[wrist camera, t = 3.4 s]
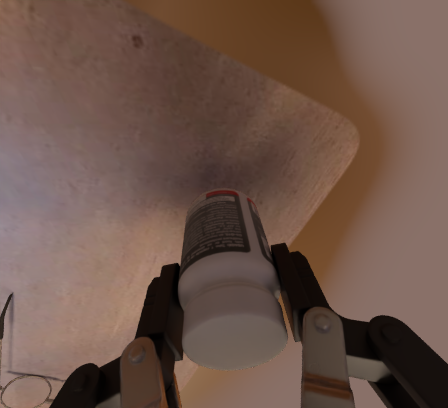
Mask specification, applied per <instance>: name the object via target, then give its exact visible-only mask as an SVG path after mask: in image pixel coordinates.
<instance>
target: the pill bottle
mask: <svg viewBox="0 0 448 408" xmlns="http://www.w3.org/2000/svg"><path fill="white" fill-rule="evenodd" d="M280 289H281V287H280V280H279V276H278V272H277V269H276V266H275V263H274V260H273V257H272V254H271V251H270V248H269V245H268V242H267V239H266V236H265V233H264V230H263V226H262V223H261V220H260V217H259V214H258V211H257V208H256V206H255V204H254V203H253V201H252V200H251V199H250V198H249V197H248V196H247V195H245V194H244V193H242V192H240V191H237V190H234V189H230V188H217V189H212V190H209V191H207V192H205V193H203V194H201V195H200V196H199V197H198V198H196V199H195V200H194V201H193V203H192V204H191V205H190V207H189V209H188V212H187V216H186V223H185V233H184V241H183V249H182V257H181V265H180V273H179V280H178V299H179V302H180V305H181V307H182V309H183V311H184V323H183V334H182V347H183V351H184V353H185V354H186V355H187V357H188V358H189V359H190V360H192V361H193V362H195V363H197V364H199V365H201V366H204V367H207V368H211V369H217V370H241V369H247V368H252V367H255V366H258V365H261V364H264V363H266V362H268V361H270V360H272V359H273V358H275V357H276V356H277V355H279V354H280V353H281V352H282V351H283V349H284V348H285V346H286V344H287V339H288V335H287V330H286V326H285V321H284V318H283V312H282V308H281V305H280V303H279V302H278V299H279V295H280Z"/></svg>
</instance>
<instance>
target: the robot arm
mask: <svg viewBox="0 0 448 408" xmlns="http://www.w3.org/2000/svg"><path fill="white" fill-rule="evenodd" d="M271 253H272V257H273V260H274V263H275V266H276V269H277V272H278V276H279V280H280V287H281V289H280V293H281V296H282V300H283V303H284V306H285V310H286V313H287V316H288V320H289V323H290V327H291V330H292V333H293V337H294V340H295V342H298V341H301V343H302V346H303V350H302V381H301V408H355V403H354V397H353V392H352V390H351V388H350V383H349V376H350V377H354V378H359V379H364V380H367V381H368V383H369V384H370V385H371V387H372V388H373V389H374V391H375V392H376V393H377V395H378V396H379V397H380V399H381V400H382V401H383V403H384V404H385V405H386V407H387V408H448V364H447V363H446V362H445V361H444V360H443V359H442V358H441V357H440V356H439V355H438V354H436V352H434V351H433V350H432V349H431V348H430V347H429V346H428V345H427V344H426V343H425V342H424V341H423V340H422V339H421V338H420V337H418V335H417V334H415V333H414V332H413V331H412V330H411V329H410V328H409V327H408V326H407V325H406V324H405V323H403V322H402V321H400V320H398V319H396V318H394V317H390V316H385V315H380V316H376V317H374V318H372V319H371V320H370V322H364V321H357V320H351V319H347V318H344V317H342V316H340V315H338V314H337V313H335V312H334V311H333V310H332V309H331V307H330V306H329V304H328V303H327V301H326V298H325V296H324V294H323V292H322V290H321V288H320V286H319V284H318V282H317V280H316V278H315V276H314V273H313V271H312V269H311V268H310V265H309V263H308V261H307V259H306V257H305V256H303V255H302V254H301V253H300V252H299V251H296V252H291V253H290V252H289V250H288V248H287V245H286V243H280V244H275V245H271ZM179 273H180V266H179V264H178V263H174V264H169V265H164V266H163V267H162V270H161V274H160V277H156V278H154V279H153V280H152V282H151V283H150V285H149V286H148V290H147V294H146V298H145V301H144V306H143V309H142V313H141V317H140V321H139V324H138V328H137V332H136V336H135V339H134V340H133V341H132V342H131V343H129V344H128V345H127V347H126V348H125V349H124V351H123V353H122V355H121V356H120V357H119V358H117V359H115V360H113V361H111V362H109V363H107V364H105V365H103V366H101V367H100V368H99V367H98V366H97V365H95V364H93V363H88V364H84V365H82V366H80V367H79V368H77V369H76V370H75V371H74V372H73V373H72V374H71V375H70V376H69V377H68V379H67V380H66V382H65V383H64V385H63V386H62V388H61V390H60V391H59V393H58V394H57V396H56V398H55V399H54V401H53V402H52V404H51V406H50V407H49V408H182V405H181V401H180V395H179V391H178V386H177V381H176V376H175V373H174V365H175V361H180V360H183V347H182V334H183V323H184V311H183V309H182V307H181V305H180V302H179V299H178V280H179Z"/></svg>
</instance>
